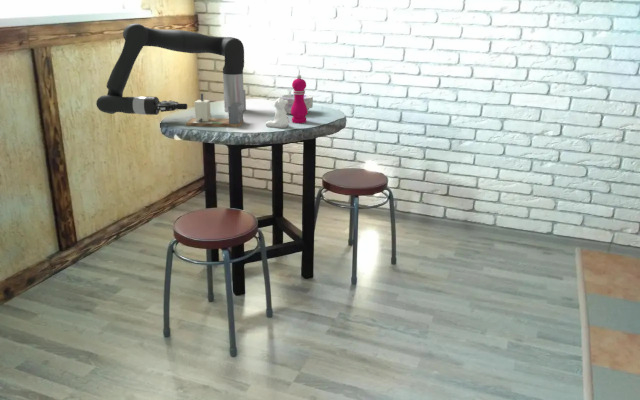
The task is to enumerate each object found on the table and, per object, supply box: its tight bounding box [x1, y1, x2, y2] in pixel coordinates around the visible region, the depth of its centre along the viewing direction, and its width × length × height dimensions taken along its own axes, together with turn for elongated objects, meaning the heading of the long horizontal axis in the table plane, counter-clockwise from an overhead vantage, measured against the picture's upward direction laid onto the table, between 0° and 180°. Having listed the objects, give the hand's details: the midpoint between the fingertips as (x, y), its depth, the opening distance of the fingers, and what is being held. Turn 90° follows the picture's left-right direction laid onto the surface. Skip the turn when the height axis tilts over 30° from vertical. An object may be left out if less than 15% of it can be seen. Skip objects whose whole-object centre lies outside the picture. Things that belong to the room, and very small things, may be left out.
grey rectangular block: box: [228, 103, 244, 124], centre depth 227 cm, size 4×10×7 cm, turn 177°
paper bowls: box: [279, 93, 314, 115], centre depth 253 cm, size 15×15×8 cm
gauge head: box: [194, 93, 212, 122], centre depth 225 cm, size 5×8×11 cm, turn 176°
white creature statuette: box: [265, 97, 290, 129], centre depth 224 cm, size 10×9×12 cm
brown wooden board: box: [185, 117, 244, 128], centre depth 229 cm, size 22×11×1 cm, turn 87°
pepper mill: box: [290, 74, 309, 124], centre depth 232 cm, size 7×7×20 cm
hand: (186, 106), depth 227 cm, fingers closed
